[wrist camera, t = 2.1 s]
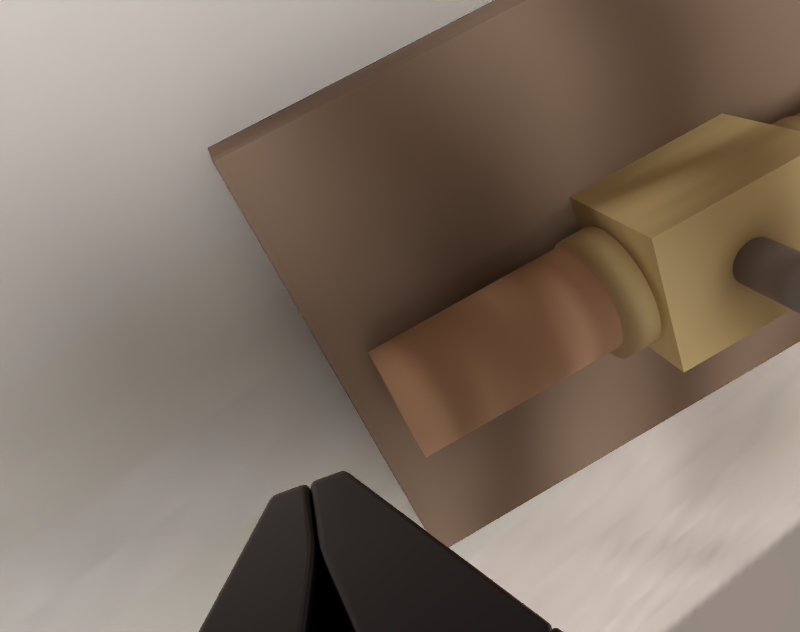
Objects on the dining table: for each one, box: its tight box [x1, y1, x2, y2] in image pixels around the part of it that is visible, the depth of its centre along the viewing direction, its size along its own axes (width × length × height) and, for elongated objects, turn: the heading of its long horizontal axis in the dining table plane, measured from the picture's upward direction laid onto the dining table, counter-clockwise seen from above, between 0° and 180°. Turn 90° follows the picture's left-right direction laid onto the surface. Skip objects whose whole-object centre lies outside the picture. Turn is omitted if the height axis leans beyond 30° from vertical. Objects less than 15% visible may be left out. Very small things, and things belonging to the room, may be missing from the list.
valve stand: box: [208, 0, 800, 547], centre depth 18 cm, size 20×14×8 cm
